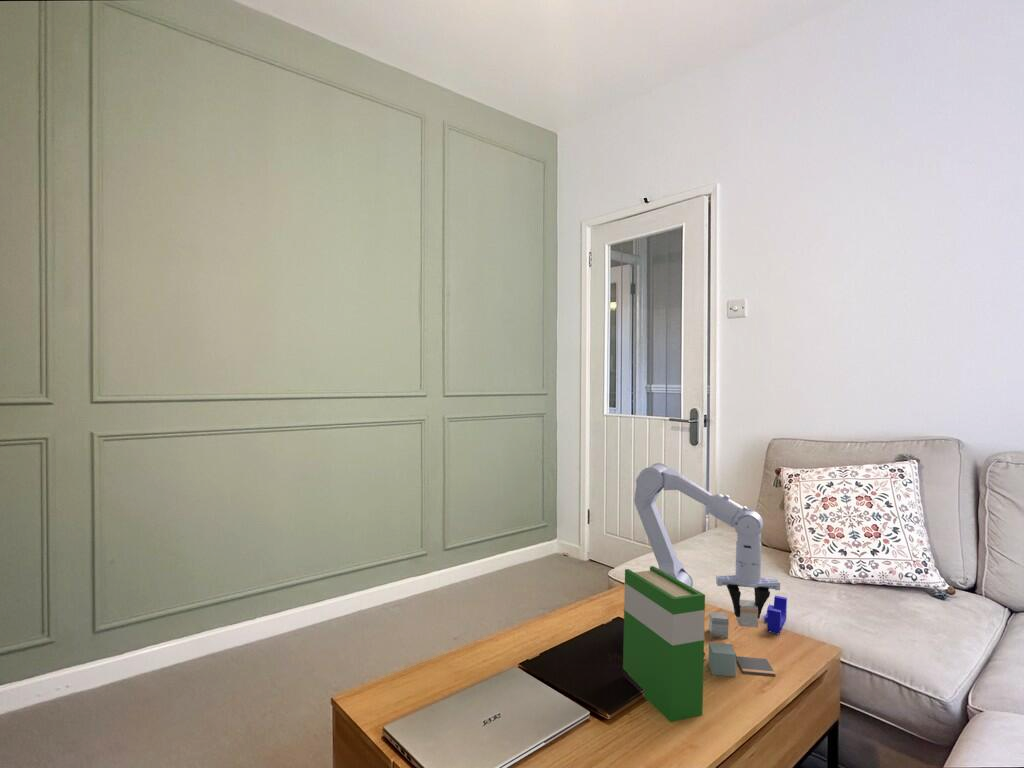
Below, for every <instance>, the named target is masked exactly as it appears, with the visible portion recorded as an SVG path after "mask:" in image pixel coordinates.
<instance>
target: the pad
mask: <svg viewBox="0 0 1024 768" xmlns="http://www.w3.org/2000/svg"><path fill="white" fill-rule="evenodd" d="M736 659H737V660H736V663H737V664H738V666H739V668H740V670H741V672H742V673H743V674H751V675H763V676H770V677H771V676H772V677H776V672H775V671H774V669H773V667H772V665H771V663H770V662H769V660H768V659H767V658H761V657H760V658H759V657H748V656H746V657H745V656H738V655H736Z"/></svg>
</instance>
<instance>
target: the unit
mask: <svg viewBox="0 0 1024 768" xmlns="http://www.w3.org/2000/svg"><path fill="white" fill-rule="evenodd" d="M736 656H737V653H736V651H735V649H734V647H733V645H732V643H721V642H710V641H708V658H707V659H708V660H707V664H708V667H709V669H710V672H711V675H713V676H714V675H715V676H725V677H737V660H736Z"/></svg>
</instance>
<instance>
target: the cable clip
mask: <svg viewBox="0 0 1024 768" xmlns="http://www.w3.org/2000/svg"><path fill="white" fill-rule="evenodd" d="M773 599H774V601H773V605H772V604H768V606H767V609H766V614H765V617H764V618H765V619H764V623H767V627H766V628H767V629H766V632H767V631H771V632H770V633H772V632H775V633H774V634H776V633H779V634H778V635H780V634H781V632H782V630H783V627H784V625H785V624H786V623H785V622H786V620H787V614H788V613H787V610H788V609H787V607H788V606H787V605H788V603H787V602H788V597H785V596H780V595H774V597H773ZM781 629H782V630H781ZM780 631H781V632H780Z"/></svg>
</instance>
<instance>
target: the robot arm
mask: <svg viewBox="0 0 1024 768" xmlns="http://www.w3.org/2000/svg"><path fill="white" fill-rule="evenodd" d="M662 490H663V491H678V492H680V493H682V494H684V495H686V496H688V497H689V498H690V499H693V500H695V501H697V502H699V503H700V504H702V505H703V506H705V508H706V509H707V512H708V514H709V515H711V516H713V517H714V518H716V519H718V521H721V522H723V523H724V524H726V526H729V527H730V528H734V529H735V533H737V535H736V536H737V537H736V538H737V540H736V542H735V543H736V544H735V545H736V546H735V547H736V548H735V574H731V575H729V574H728V575H716V576H715V583H716V586H717V587H722V586H726V588H727V590H728V593H729V596H730V598H731V603H732V606H733V613H734V616H735V617H739V615H740V609H739V603H740V600H741V594H742V592H741V591H740V588H739V587H741V588H750V589H751V588H753V590H754V602H755V603H756V605H757V606H758V620H760V617H761V613H762V610H763V608H764V606H765V604H766V602H767V601H768V599H769V598H770V597H771V592H770V591H771V590H775V591H781V582H780V581H779V579H773V578H767V577H766V578H765V577H761V576H762V575H761V574H762V549H763V548H762V529H763V526H764V521H763V520H764V519H763V518H762V516H761V515H760V514H759V512H757V511H756V510H755V509H749V508H748V507H747V506H746V505H744V506H742V505H741V504H739V503H736V502H735V501H734V500H732V499H730V498H731V496H730V495H728V494H726V493H725V494H724V495H723V494H721V493H716V494H713V493H711V492H709V491H708V490H706V489H705V488H703V487H702V486H700V485H698V484H697V483H695V481H692V480H691V479H689V478H687V477H686V476H684V475H683V474H682V473H680V472H679V471H677V470H676V469H675V468H672V467H668V466H667V465H666V464H664V463H661V462H657V463H653V464H652V465H650V466H648V467H645V468H644V469H642V470H641V471H640V472H639V474H638V476H637V477H636V478H635V493H634V499H633V501H634V505H635V508H636V510H637V513H638V516H639V518H640V519H639V520H641V523H642V526H643V528H644V532H645V535H646V536H647V538H648V542H649V545H650V547H651V549H652V552H653V555H654V557H655V559H656V562H657V565H658V569H660V570H661V571H663V572H665V573H667V574H669V575H670V576H672V577H674V578H676V579H678V580H679V581H681V582H683V583H685V584H687V585H688V586H690V587H692V588H693V586H694V581H693V578H692V577H693V576H691V574H690V573H689V572H688V571H687V570H686V569H685V567H684V564H683V563H682V561H680V560H679V558H678V557H677V554H676V552H675V550H674V546H673V544H672V542H671V539H670V536H669V534H668V532H667V529H666V525H665V524H664V521H663V518H662V516H661V513H660V511H659V509H658V506H657V503H656V501H657V499H658V497H659V495H660V493H661V491H662Z"/></svg>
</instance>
